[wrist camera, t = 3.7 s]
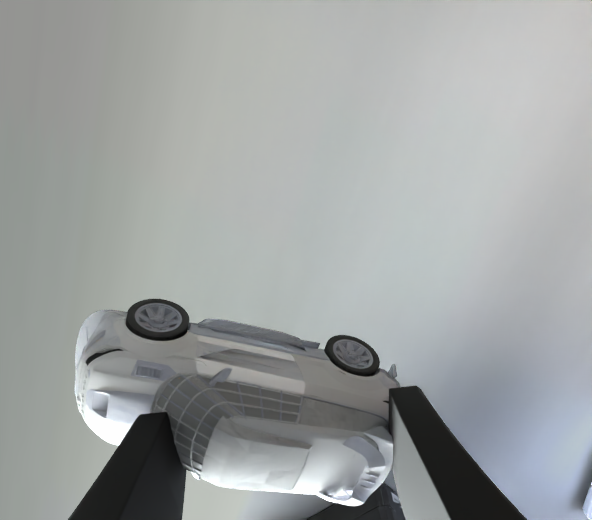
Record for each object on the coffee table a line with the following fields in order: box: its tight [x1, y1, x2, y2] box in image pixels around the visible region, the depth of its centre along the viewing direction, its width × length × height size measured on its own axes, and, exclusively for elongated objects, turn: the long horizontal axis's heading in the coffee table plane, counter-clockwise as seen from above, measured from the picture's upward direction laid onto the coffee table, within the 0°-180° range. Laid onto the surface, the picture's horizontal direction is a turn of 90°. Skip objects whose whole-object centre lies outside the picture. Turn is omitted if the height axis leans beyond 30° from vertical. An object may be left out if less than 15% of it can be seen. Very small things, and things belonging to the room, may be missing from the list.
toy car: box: [75, 299, 400, 506], centre depth 11 cm, size 4×8×3 cm, turn 74°
